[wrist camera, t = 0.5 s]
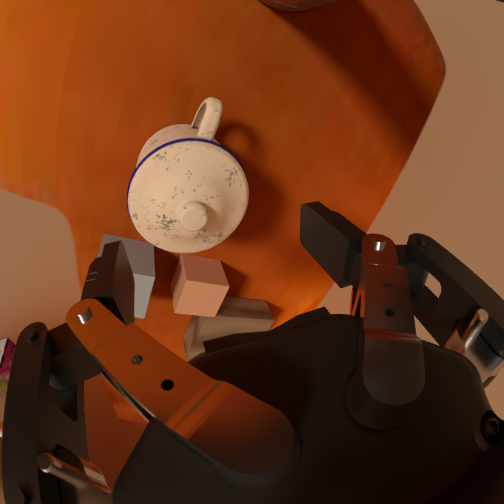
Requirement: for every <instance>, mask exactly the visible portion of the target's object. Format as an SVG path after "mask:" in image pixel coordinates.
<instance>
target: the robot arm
mask: <svg viewBox="0 0 504 504" xmlns="http://www.w3.org/2000/svg"><path fill="white" fill-rule="evenodd" d="M259 1H261V2H263V3H265V4H266V5H268V6H271V7H273V8H275V9H279V10H283V11H292V12H296V11H304V10H307V9H310V8H314V7H317V6H320V5H324V4H328V3H332V2H335V1H339V0H259ZM497 1H500V2H504V0H497ZM300 240H301V243H302V245H303V247H304V248H305V249H306V250H307V251H308V252H309V253H310V255H311V256H312V257H313V258H314V259H315V260H316V261H317V262H318V263H319V264H320V266H321V267H322V268H323V269H324V270H325V271H326V272H327V273H328V274H329V276H330V277H331V278H332V279H333V280H334V281H335V282H336V283H337V284H338V286H339V287H340V288H343V287H346V286H349V285H352V286H353V288H352V293H351V303H350V314H349V315H347V314H330V313H329V312H328V310H327V309H326V308H325V307H322V308H319V309H316V310H313V311H309V312H306V313H303V314H300V315H297V316H296V317H294V318H292V319H290V320H289V321H287V322H285V323H283V324H282V325H280V326H278V327H276V328H274V329H272V330H270V331H262V332H249V333H235V334H231V335H227V336H223V337H219V338H215V339H211V340H207V341H203V345H204V348H205V351H204V352H202V353H200V354H198V355H197V356H195V357H194V358H192V359H191V360H190V361H188V362H186V361H185V360H183V359H182V358H180V357H179V356H177V355H176V354H175V353H173V352H172V351H170V350H169V349H168V348H166V347H165V346H163V345H162V344H161V343H159V342H158V341H157V340H155V339H154V338H153V337H151V336H150V335H149V334H147V333H146V332H145V331H143V330H142V329H141V328H140V327H138V326H137V325H136V324H134V297H135V281H134V276H133V272H132V269H131V266H130V263H129V260H128V257H127V254H126V251H125V248H124V245H123V242H122V241H121V240H119V241H115V242H111V243H107V244H105V245H104V248H103V252H102V255H101V257H98V258H95V260H94V261H93V262H92V263H91V265H90V266H89V270H88V273H87V274H88V275H87V277H86V282H85V284H84V288H83V292H82V297H81V301H79V302H77V303H76V304H74V305H73V306H72V307H71V308H70V309H69V311H68V313H67V315H66V323H64V324H62V325H60V326H58V327H56V328H54V329H52V330H48V329H47V327H46V325H45V324H44V323H42V322H35V323H32V324H30V325H28V326H27V327H26V328H25V329H24V330H23V331H22V332H21V333H20V335H19V337H18V340H17V344H16V348H15V352H14V356H13V360H12V365H11V370H10V375H9V381H8V386H7V393H6V400H5V408H4V418H3V431H2V480H3V492H4V499H5V502H6V504H504V420H501V419H500V418H499V417H497V415H496V414H495V413H494V412H493V410H492V408H491V406H490V404H489V402H488V399H487V397H486V394H485V391H484V388H485V387H486V386H488V385H489V384H490V382H491V381H492V380H493V379H494V378H495V377H496V376H497V374H499V372H500V371H501V370H502V369H503V368H504V300H503V299H502V298H501V297H500V296H499V295H498V294H497V293H496V292H495V291H494V290H493V289H491V288H490V287H489V286H488V285H487V284H486V283H485V282H484V281H483V280H482V279H481V278H479V277H478V276H477V275H476V274H475V273H474V272H473V271H472V270H470V269H469V268H468V267H467V266H466V265H464V264H463V263H462V262H461V261H460V260H459V259H457V258H456V257H455V256H453V254H451V253H450V252H449V251H448V250H446V249H445V248H444V247H442V246H441V245H440V244H439V243H437V242H436V241H435V240H434V239H432V238H431V237H429V236H426V235H424V234H418V233H414V234H411V235H410V236H409V238H408V242H407V245H395V244H394V242H393V241H392V240H391V239H390V238H388V237H386V236H384V235H380V234H366V233H365V232H363V231H362V230H361V229H359V228H358V227H357V226H355V225H354V224H352V223H351V222H350V221H349V220H346V218H345V217H343V216H342V215H341V214H339V213H337V212H334V211H332V210H330V209H328V208H327V207H325V206H324V205H323V204H321V203H320V202H318V201H317V202H311V203H305V204H302V206H301V213H300ZM429 273H430V274H432V275H433V276H434V277H435V278H436V279H437V280H438V281H439V282H440V284H441V294H440V296H439V299H438V297H437V296H435V295H434V293H432V291H431V290H430V289H429V288H428V287H426V286H425V282H426V279H427V277H428V274H429ZM414 316H415V317H416V318H417V319H418V320H419V321H420V323H421V324H422V325H423V326H424V327H425V328H426V330H427V331H428V332H429V333H430V334H431V335H432V337H433V338H434V339H435V340H436V342H437V343H438V344H439V345H440V346H438V345H435V344H433V343H430V342H427V341H424V340H421V339H420V338H419V337H417V335H416V328H415V321H414ZM100 373H101V374H102V375H103V376H104V377H105V378H106V379H107V380H108V381H109V383H110V384H111V385H112V386H113V387H114V388H115V389H116V390H117V391H118V392H119V393H120V394H121V395H122V396H123V397H124V398H125V399H126V400H127V401H128V402H129V403H130V404H131V405H132V406H133V407H134V408H135V409H136V410H137V411H138V413H139V414H140V415H141V416H143V417H144V418H145V419H146V420H147V421H148V422H149V423H148V424H147V426H146V428H145V430H144V431H143V433H142V435H141V437H140V438H139V440H138V442H137V443H136V445H135V447H134V449H133V451H132V452H131V454H130V456H129V457H128V459H127V461H126V463H125V465H124V466H123V468H122V470H121V471H120V473H119V475H118V477H117V478H116V481H115V483H114V486H113V490H112V491H111V490H110V489H109V488H108V486H107V484H106V482H105V479H104V476H103V474H102V473H101V471H100V470H99V469H98V468H97V467H96V466H95V465H93V464H92V463H90V462H89V457H88V449H87V439H86V429H85V412H84V381H85V380H88V379H90V378H92V377H94V376H96V375H98V374H100Z"/></svg>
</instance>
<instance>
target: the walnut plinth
mask: <svg viewBox="0 0 504 504" xmlns="http://www.w3.org/2000/svg"><path fill="white" fill-rule="evenodd" d="M274 321H275V319H274V317H273V315H272V313H271V311H270V309H269V307H268V305H267V303H266V301H264V300H256V299H247V298H239V297H231V296H225V297H224V299H223V301H222V303H221V305H220V307H219V309H218V311H217V313H216V315H215V317H207V316H197V315H192V318H191V320H190V323H189V325H188V327H187V330H186V332H185V335H184V337H183V343H184V348H185V353H186V358H187V360H191V359H192V358H194V357H195V356H197V355H198V354H200V353H202V352H204V351H205V348H204V345H203V341H207V340H211V339H215V338H219V337H223V336H227V335H231V334H235V333H249V332H262V331H268V330H269V328H270V327H271V325H272V324H273V322H274Z"/></svg>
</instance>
